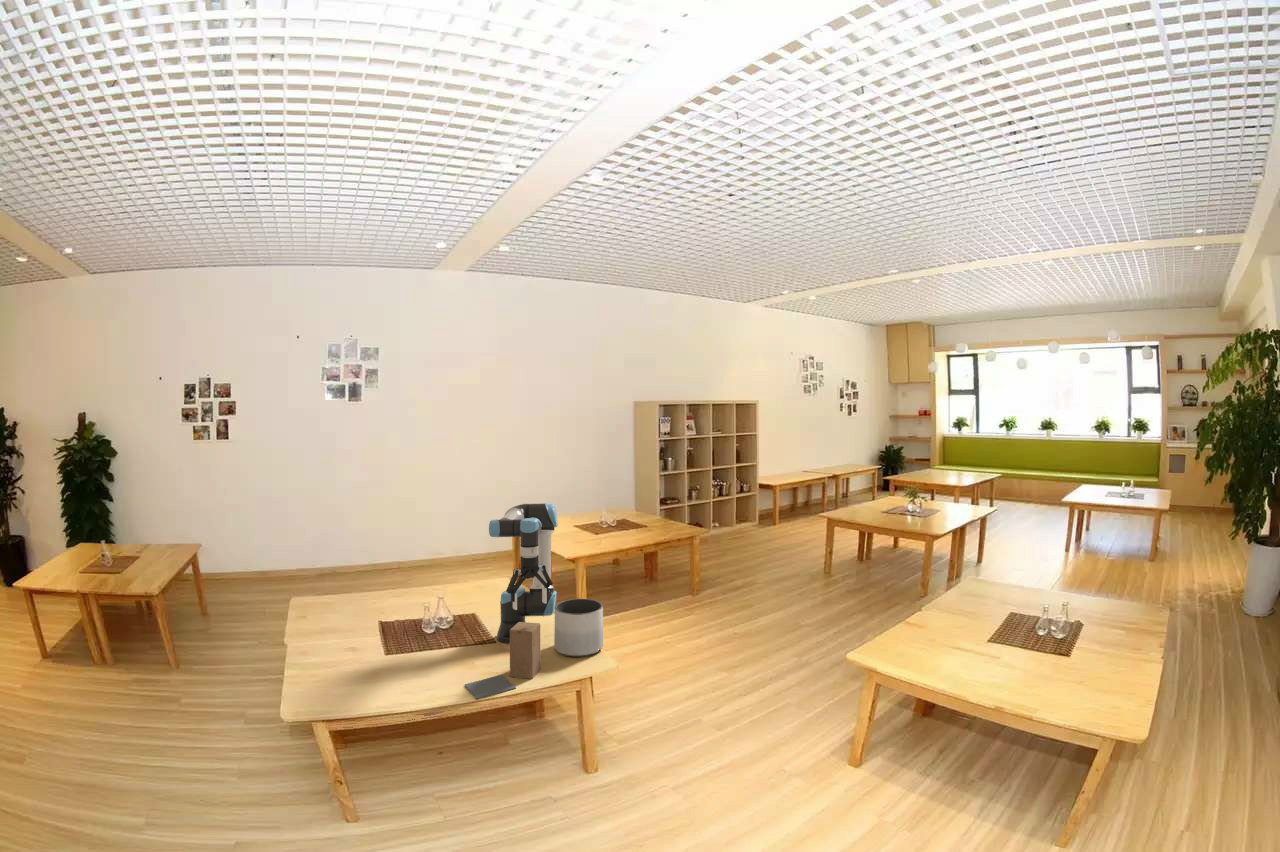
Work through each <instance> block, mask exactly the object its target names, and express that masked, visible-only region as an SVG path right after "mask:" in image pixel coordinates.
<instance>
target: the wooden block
mask: <svg viewBox="0 0 1280 852" xmlns="http://www.w3.org/2000/svg"><path fill="white" fill-rule="evenodd" d="M541 666H542V665H541V623H539V622H529V621H528V622H526V621H525V622H518V623H517V624H516V625H515V626H514V627H512V628H511V629H510V643H509V677H511V678H520V679H528V680H533V679H534V678H535V676H536V675H537V674H538V673H539V671H540V670H541V668H542V667H541Z"/></svg>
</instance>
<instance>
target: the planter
mask: <svg viewBox="0 0 1280 852" xmlns="http://www.w3.org/2000/svg"><path fill="white" fill-rule="evenodd" d="M553 635H554V637H553V638H554V639H553V640H554V641H553V643H554V650H555V652H557V653H558V654H560V655H562V656H565V657H569V658H570V657H571V658H584V657H589V656H592V655H595V654H598V653H599V652H600V651H601V650H602V649H603V648H604V605H603V603H602V602H600V601H598V600H595V599H592V598H591V599H589V598H573V599H572V598H571V599H566V600H562V601H560V602H558V603H556V604H555V609H554V634H553ZM598 649H599V650H600V651H599V650H598Z"/></svg>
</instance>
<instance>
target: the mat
mask: <svg viewBox="0 0 1280 852" xmlns="http://www.w3.org/2000/svg"><path fill="white" fill-rule="evenodd" d="M464 687H465V688H466V689H467V690H468V691H469V692H470V694H471V695H472V696H473V698H475V700H476V701H477V700H481V699H484V698H487V697H492V696H495V695H499V694H502V693H505V692H508V691H513V690H515V689H516V686H515V685H514V684H513V683H512V682H511V681H510V680H509V679H508V678H507V677H506V676H505V675H504V674H498V675H495V676H491V677H488V678H484V679H479V680H476V681H473V682H472V681H471V682H468V683H465V684H464Z"/></svg>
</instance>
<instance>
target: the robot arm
mask: <svg viewBox="0 0 1280 852" xmlns="http://www.w3.org/2000/svg"><path fill="white" fill-rule="evenodd" d="M557 527H558V514H557V509H556V505H555V504H554V503H546V502H545V503H522V504H518V505H514V506H513V507H511V508H509V509H507V510H506V512H505V513H504V515H503V516H502V517H501V518H500V519H491V520H490V521H489V524H488V534H489V536H490V537H491V538H511V537H512V538H520V544H519V545H520V553H519V554H520V558H519V559H520V561H519V562H520V568H519V569H516V568H514V569H513V571H512V576H511V578H510V580H509V583H508V585H507V587H506V590H504V591H502V593H501V594H500V601H499V604H500V623H499V628H498V629H497V630H498V631H497V633H496V635H497V636H496V639H497V641H498V642H501V643H504V644H510V629H511V628H512V627H514V626H515V625H516V624H517V623H518V622H526V617H551V616H552V615H553V614H555V606H556V605H557V603H556V602H557V593H558V592H557V591H556V590H555V589H554V588H555V587H554V585H553V584H554V583H553V582H552V580H551V578H552V571H551V570H552V562H551V561H552V534H553V533H554V532H555V528H557ZM529 579H532V585H531V586H529V591H526V589H525V588H524V587H521V585H523V584H524V583H523V582H525V581H526V580H529Z"/></svg>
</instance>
